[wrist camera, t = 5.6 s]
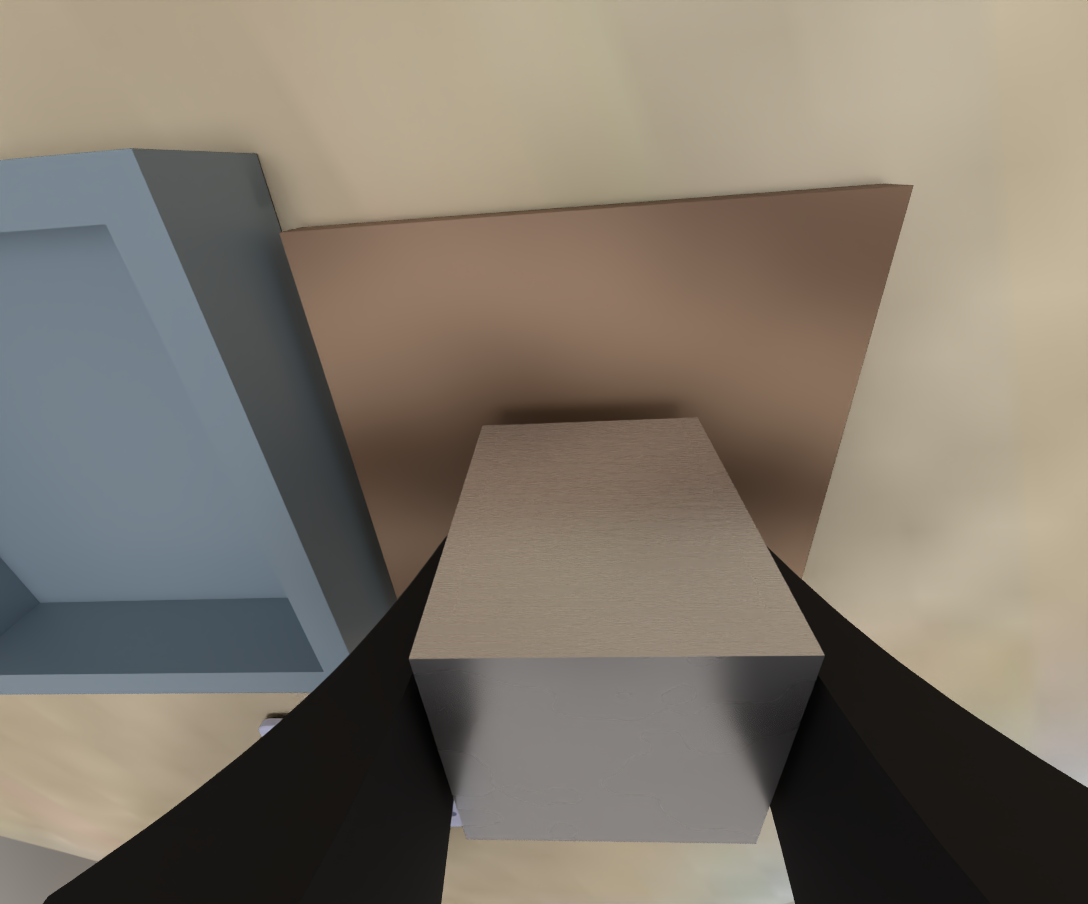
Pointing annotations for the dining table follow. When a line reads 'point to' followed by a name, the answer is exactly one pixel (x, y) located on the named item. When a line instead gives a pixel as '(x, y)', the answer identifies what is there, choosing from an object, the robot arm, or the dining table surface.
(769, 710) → the metal block
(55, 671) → the bin
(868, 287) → the stud base
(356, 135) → the dining table surface
